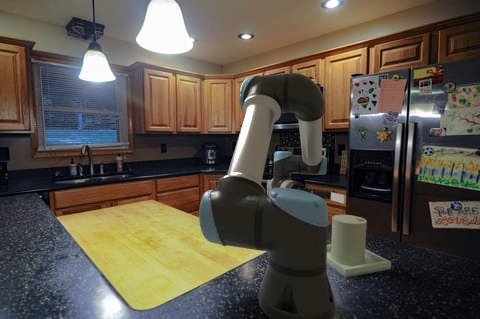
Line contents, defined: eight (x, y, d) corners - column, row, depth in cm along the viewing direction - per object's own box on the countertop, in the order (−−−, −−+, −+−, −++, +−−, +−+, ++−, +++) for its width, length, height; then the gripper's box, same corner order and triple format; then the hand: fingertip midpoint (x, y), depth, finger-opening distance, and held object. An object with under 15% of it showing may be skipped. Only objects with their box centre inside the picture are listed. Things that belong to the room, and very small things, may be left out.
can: (369, 267, 68) (371, 223, 67) (332, 263, 70) (334, 220, 69) (360, 253, 77) (362, 214, 76) (328, 250, 79) (329, 212, 78)
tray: (345, 277, 64) (345, 269, 64) (310, 253, 78) (310, 247, 78) (390, 269, 69) (391, 261, 68) (350, 247, 83) (350, 241, 83)
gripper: (319, 198, 106) (358, 210, 86) (264, 201, 98) (293, 214, 78) (319, 180, 106) (358, 187, 86) (265, 181, 98) (293, 189, 78)
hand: (327, 200), depth 82 cm, fingers open, 13 cm apart
